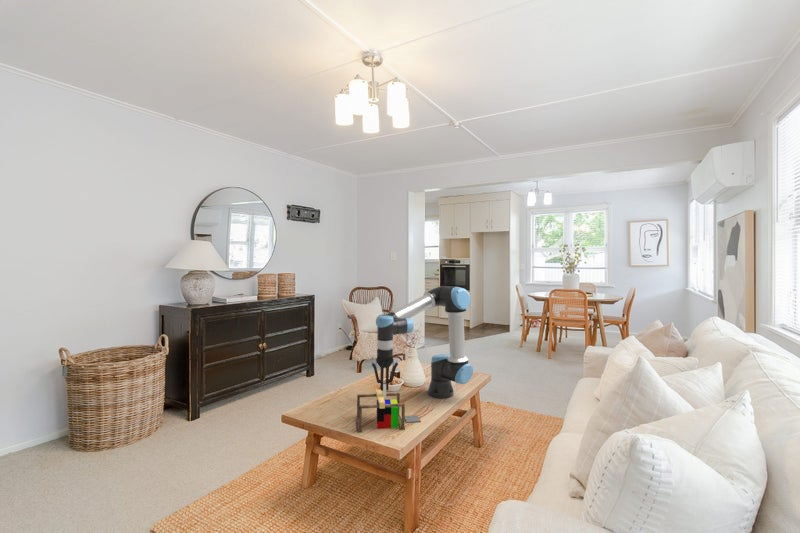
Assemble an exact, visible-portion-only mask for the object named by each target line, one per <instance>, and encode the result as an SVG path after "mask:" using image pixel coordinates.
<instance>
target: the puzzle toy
mask: <svg viewBox="0 0 800 533" xmlns="http://www.w3.org/2000/svg"><path fill="white" fill-rule="evenodd" d="M384 401H385V404H398V402H397V398H395V399H393V398H392V399H391V398H389V399H388V398H387V399H384ZM376 405H379V402H378V399H376ZM398 428H399V423H398V407H385V408H382V409H380V408H376V429H398Z"/></svg>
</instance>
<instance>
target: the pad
mask: <svg viewBox="0 0 800 533" xmlns="http://www.w3.org/2000/svg"><path fill="white" fill-rule="evenodd" d="M404 421H405V423H406V424H407V423H408V424H409V423H410V424H411V423H412V424H414V423H421V422H422V421H421V419H420V417H419V415H417V414H414V415H405V417H404Z"/></svg>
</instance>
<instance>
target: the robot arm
mask: <svg viewBox="0 0 800 533" xmlns="http://www.w3.org/2000/svg"><path fill="white" fill-rule="evenodd" d="M470 304H471V296H470V293H469V292H468V290H467V289H466V288H463V287H460V286H449V285H448V286H447V285H442V286H437V287H435V288H432V289H430V290H428V291H426V292H424V293H423V295H422V296H420V297H418V298H416V299H414V300H412V301H410V302H409V303H408V302H407V304H405V305H402V306H400V307H398V308H397V309H394V310H393V311H391V312H389V313H386V314H385V313H383V314H379V315H378V316H377V317H376V319H375V324H376V326H377V327H376V328H377V329H376V330H377V331H376V332H377V334H376V335H377V340H376V341H377V343H376V344H377V345H376V346H377V350H376V359H375V361H373V362H371V366H372V368H373V370H374V375H375V379H376V382H377V384H380V386H379V387H380V389H381V392H382V395H383V398H384V399H387V396H386V393H387V391H389V384H391V383H393V381H394V380H393V379H394V377H395V374H396V373H395V372H396V370H397V367H398V365H399V362H397V361H396V360H394V355H393V352H394V350H393V348H394V346H393V345H394V336H395V335H396V336H397V335H404V334H409V333H411V332H413V330H414V320H412V319H411V318H412V317H415V316H416V315H418V314H420V313H422V312H424V311H426V310H428V309H433V308H436V307H444V312H445V313H446V314H447V323H448V344H449V353H444V354H443V353H441V354H435V355H433V356H432V357H431V363H430V365H431V366H430V369H431V370H430V373H431V374H430V382H429V385H428V388H427V394H428V395H429V396H430V397H433V398H436V399H437V398H438V399H448V398H452V397H453V396H454V394H455V393H454V392H455V391H454V387H453V384H452V382H454V383H456V384H460V385H465V384H468V383H469V382H470V381H471V379H472V377H473V374H474V368H473V366H472V365H471V364H470V363H469V358H468V356H466V341H465V338H466V337H465V320H464V314H465V313H466V312H467V308H469V306H470ZM377 366H379V368H380V372H378V369H377ZM391 366H392V367H391ZM390 367H391V372H390ZM384 370H385V375H384ZM379 374H380V376H379ZM384 376H385V382H384Z"/></svg>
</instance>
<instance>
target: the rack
mask: <svg viewBox="0 0 800 533" xmlns="http://www.w3.org/2000/svg"><path fill="white" fill-rule="evenodd" d="M400 394H401V393H400V392H391V393H390V392H389V393H388V392H386V397H396V399H397V402H398V404H385V407H398V427H399V429H400V430H401V431H405V430H406V426H405V418H404V417H405V416H406V415H405V407H406V406H405V403H404V402H400V401H401V400H400ZM356 396H357V397H356V417H355V420H356V427H357V433H363V425H362V423H363V422H362V418H363V416H362V415H363V412H362V411H363V409H377V408H379V405H377V404H366V405H365V404H364V405H361V404H360V403H361V402H360V401H361V398H377V396H376V393H365V394H364V393H363V394H357V395H356ZM400 408H401V415H400Z"/></svg>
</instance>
